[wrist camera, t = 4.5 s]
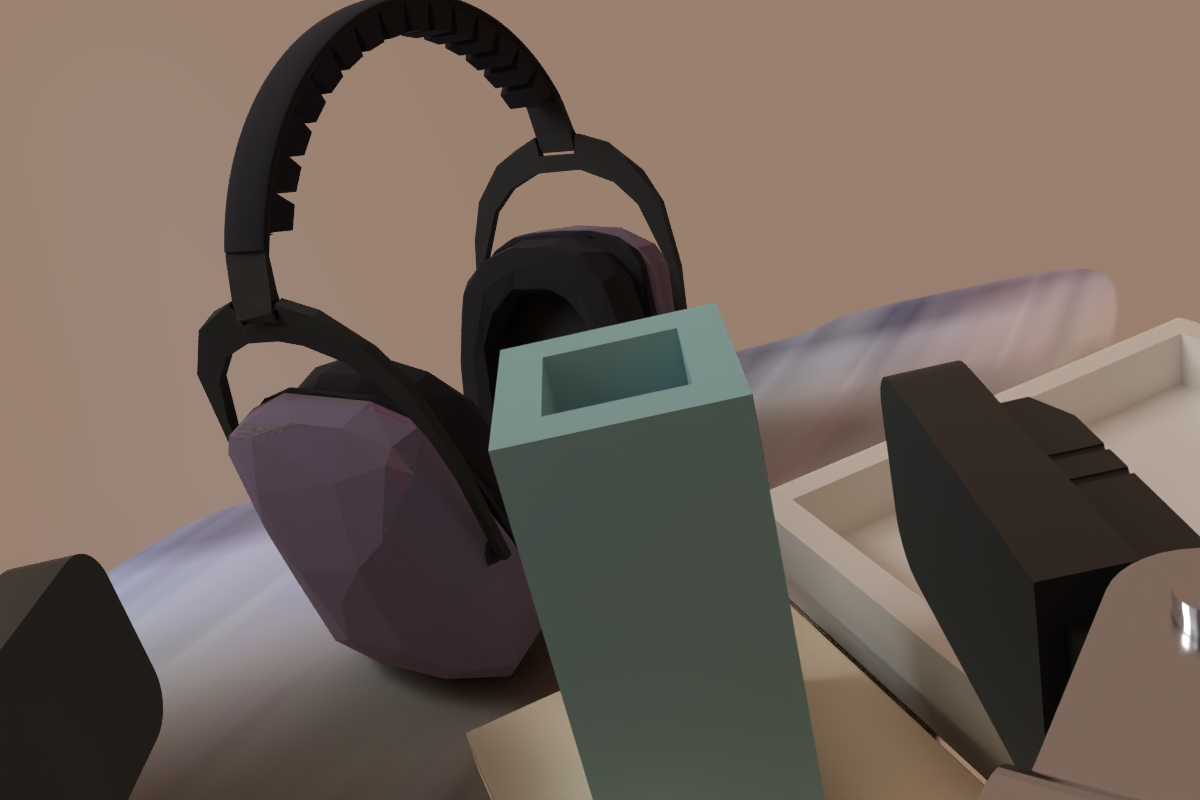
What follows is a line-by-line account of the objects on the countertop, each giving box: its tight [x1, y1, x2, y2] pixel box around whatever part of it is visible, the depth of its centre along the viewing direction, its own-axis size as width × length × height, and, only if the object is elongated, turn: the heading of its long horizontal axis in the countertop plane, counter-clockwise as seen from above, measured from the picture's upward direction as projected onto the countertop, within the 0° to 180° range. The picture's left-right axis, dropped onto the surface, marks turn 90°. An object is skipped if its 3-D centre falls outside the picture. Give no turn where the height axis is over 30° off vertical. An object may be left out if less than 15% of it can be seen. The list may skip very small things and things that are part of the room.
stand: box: [465, 605, 985, 800], centre depth 25 cm, size 10×10×10 cm
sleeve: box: [488, 303, 825, 800], centre depth 25 cm, size 5×5×11 cm
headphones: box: [197, 0, 687, 679], centre depth 36 cm, size 9×17×20 cm, turn 150°
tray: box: [770, 317, 1200, 780], centre depth 32 cm, size 18×12×3 cm, turn 113°
